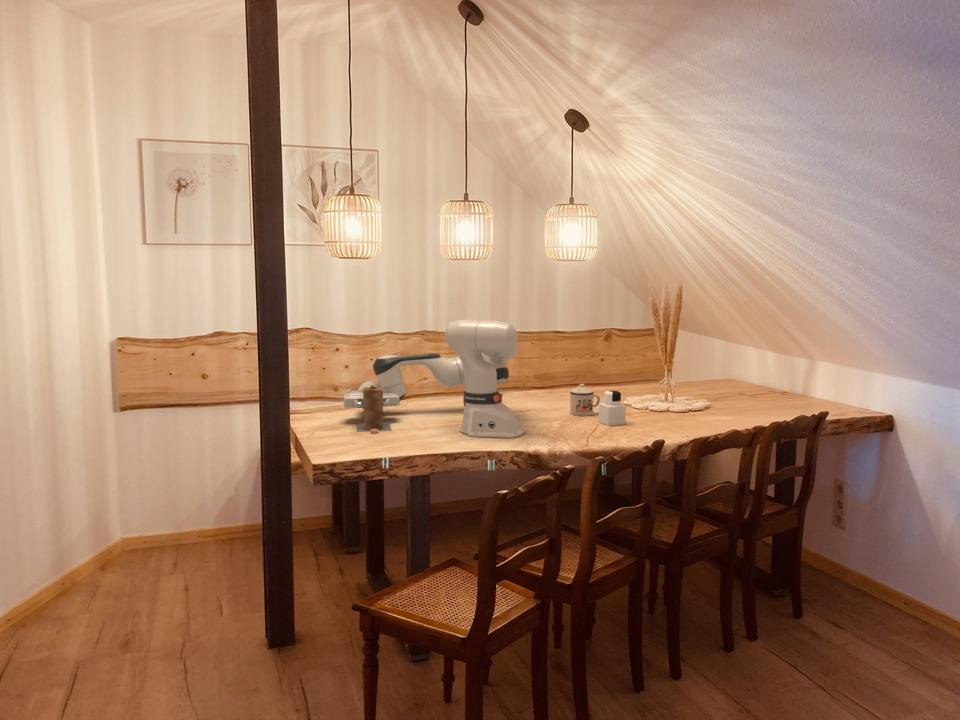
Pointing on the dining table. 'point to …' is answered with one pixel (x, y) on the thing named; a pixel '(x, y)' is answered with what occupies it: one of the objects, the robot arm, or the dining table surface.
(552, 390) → the dining table surface
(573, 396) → the teacup with lid
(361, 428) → the mat
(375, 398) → the brown cylindrical container
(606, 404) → the medicine bottle
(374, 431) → the bowl
